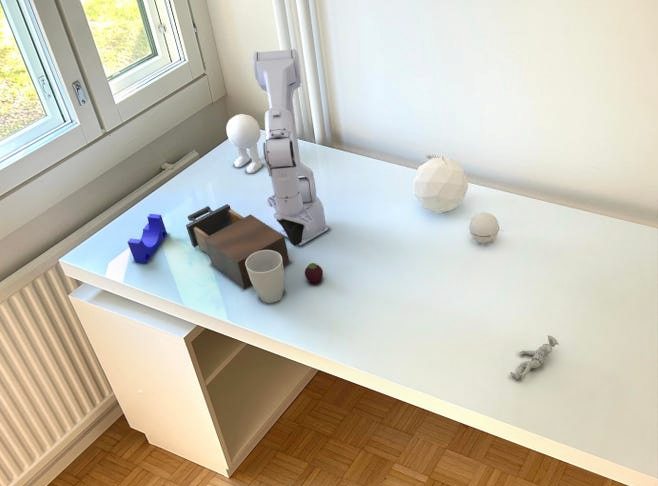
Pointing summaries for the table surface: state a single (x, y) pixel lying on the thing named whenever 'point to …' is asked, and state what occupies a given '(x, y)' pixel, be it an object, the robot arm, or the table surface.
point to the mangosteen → (313, 273)
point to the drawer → (209, 224)
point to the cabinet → (243, 247)
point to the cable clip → (148, 239)
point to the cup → (266, 274)
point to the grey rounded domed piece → (484, 227)
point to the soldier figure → (535, 358)
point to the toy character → (245, 140)
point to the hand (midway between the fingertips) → (296, 243)
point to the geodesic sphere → (440, 184)
